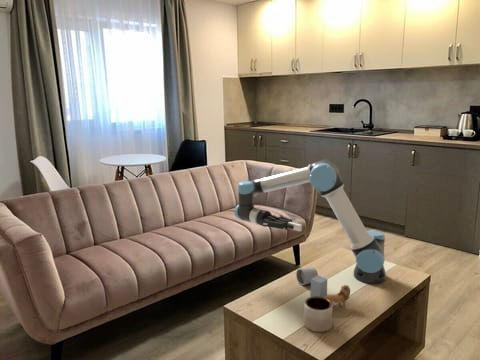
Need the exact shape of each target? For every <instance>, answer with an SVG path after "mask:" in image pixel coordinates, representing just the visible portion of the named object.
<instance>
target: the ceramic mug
mask: <svg viewBox="0 0 480 360" xmlns="http://www.w3.org/2000/svg"><path fill="white" fill-rule="evenodd" d="M295 275H296V276H295V277H296V280H297V282H298V284H299V285H301V286H304V285H305V286H306V285H308V284H309V285H310V284H311V279H312V278H314V277H316V276H319V273H318V271H317V269H316V268H315V267H311V266H310V267H302V268H299V269H297V271H296V273H295Z"/></svg>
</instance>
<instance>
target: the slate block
mask: <svg viewBox="0 0 480 360" xmlns="http://www.w3.org/2000/svg"><path fill="white" fill-rule="evenodd" d="M327 295H328V278H326V277H323V276H321V275H318V276H316V277H314V278H312V279H311V283H310V297H313V296H320V297H324V298H326V296H327Z"/></svg>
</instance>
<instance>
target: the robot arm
mask: <svg viewBox="0 0 480 360" xmlns="http://www.w3.org/2000/svg"><path fill="white" fill-rule="evenodd" d="M308 183H310V184H311V186H312V188H314V190H316V191H318V194H319V196H321V197H323V198H325V199H326V201H327V202H328V204H329V206H330V208H331V209H332V211H333V213H334V215H335V216H336V219H337V220H338V222H339V224H340V225H341V228H342V229H343V230H344V232H345V234H346V236H347V238H348V239H349V242H350V243H351V244H350V250H351V251H352V254H353V255H354V257H355V263H356V264H355V266H354V269H353V277H354V278H355V279H356V280H358V281H359V282H362V283H364V284H371V285H375V284H376V285H377V284H382V283H384V282H385V281H386V279H387V272H386V268H385V266H384V265H385V243H386V239H385V234H384V233H382V232H380V231H374V230H367V229H366V227H365V225H364V224H363V223H364V222H362V220H361V218H360V216H359V215H358V213H357V211H356V210H355V208H354V205H353V204H352V202H351V201H350V198H349V197H348V195H347V193H346V191H345V190H344V187H345V183H344V181H343V179H342V178H341V175H340V167H339V164H338V163H337V162H336V161H335V160H333V159H329V158H323V159H321V160H318V161H316V162H313V163H312V162H311V163H309V164H308V166H305V167H301V168H297V169H293V170H289V171H285V172H282V173H277V174H274V175H270V176H266V177H262V178H259V179H258V178H255V179H252V180H250V181H249V180H248V181H247V180H246V181H245V180H244V181H241V182H239V183H238V188H237V192H238V194H237V195H238V204H237V205H236V206H235V209H234V216H235V217H236V218H237V219H239V220H240V221H244V222H248V223H252V224H255V225H256V226H258V225H259V226H261V227H269V228H274V229H279V230H285V231H288V229H289V230H293V231H296V232H302V231H303V225H302V224H300V223H296V222H293V219H291V218H288V217H286V216H284V215H283V214H279V216H277V215H275V214H272V212H270V211H269V210H265V209H262V208H259V207H255V197H256V196H257V195H260V194H264V193H265V194H266V193H268V192H274V191H276V190H277V191H278V190H280V189H284V188H289V187H294V186H299V185H302V184H303V185H304V184H308Z"/></svg>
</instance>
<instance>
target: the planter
mask: <svg viewBox="0 0 480 360" xmlns="http://www.w3.org/2000/svg"><path fill="white" fill-rule="evenodd" d="M303 306H304V308H303V311H304V312H303V325H304V326H305V327H306V328H307V329H308V330H309V331H312V332H316V333H324V332H327V331H329V330H330V329H332V326H333V312H332V309H333V305H332V302H331V301H330V300H329V299H327V298H324V297H320V296H313V297H311V296H309V297H307V298H306V299H304V305H303Z"/></svg>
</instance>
